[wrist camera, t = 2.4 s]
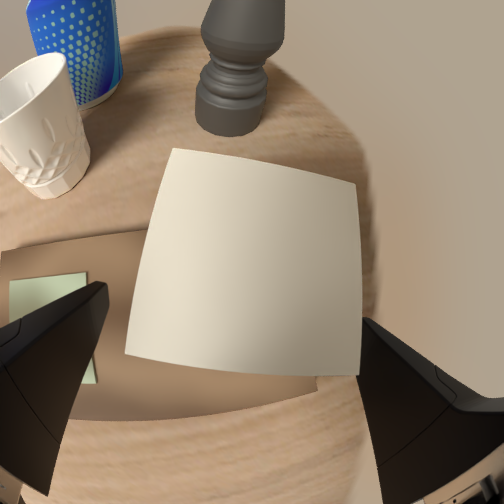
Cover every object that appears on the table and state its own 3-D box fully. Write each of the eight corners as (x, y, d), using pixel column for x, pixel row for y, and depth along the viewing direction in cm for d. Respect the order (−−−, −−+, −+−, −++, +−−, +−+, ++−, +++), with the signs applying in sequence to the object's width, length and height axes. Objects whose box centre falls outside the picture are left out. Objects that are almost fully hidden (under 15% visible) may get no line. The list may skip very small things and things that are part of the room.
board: (309, 388, 17) (353, 401, 11) (20, 407, 12) (-27, 417, 6) (275, 225, 20) (302, 180, 15) (11, 257, 16) (-32, 228, 10)
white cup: (49, 223, 17) (-17, 147, 8) (14, 180, 18) (-35, 112, 8) (114, 155, 20) (86, 60, 11) (69, 125, 21) (41, 47, 11)
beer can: (52, 126, 20) (8, 1, 5) (62, 84, 22) (37, -19, 8) (125, 102, 22) (109, -40, 8) (124, 65, 25) (117, -47, 10)
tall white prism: (258, 369, 15) (356, 400, 5) (174, 358, 15) (121, 382, 4) (267, 270, 18) (353, 167, 7) (189, 258, 17) (178, 132, 7)
